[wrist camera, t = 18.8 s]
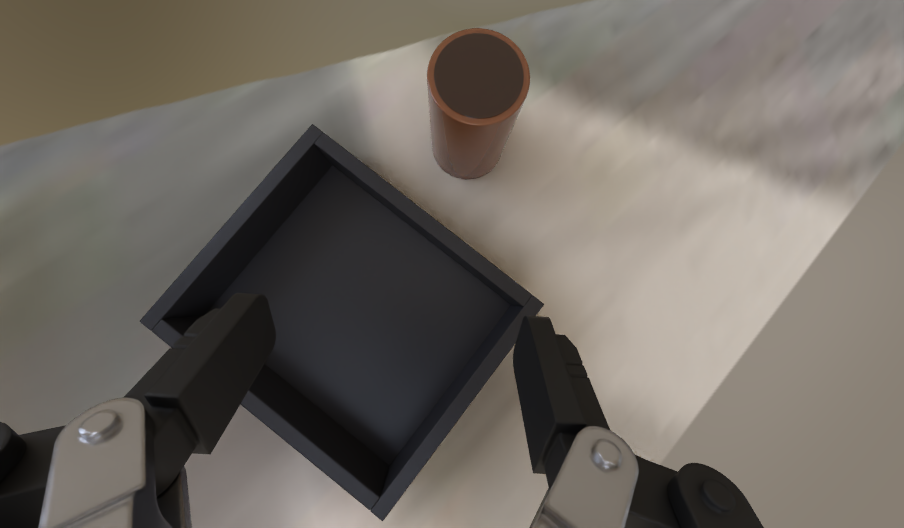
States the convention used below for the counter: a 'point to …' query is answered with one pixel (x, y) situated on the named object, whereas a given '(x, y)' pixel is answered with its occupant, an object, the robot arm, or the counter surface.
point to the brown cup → (474, 99)
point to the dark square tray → (354, 317)
